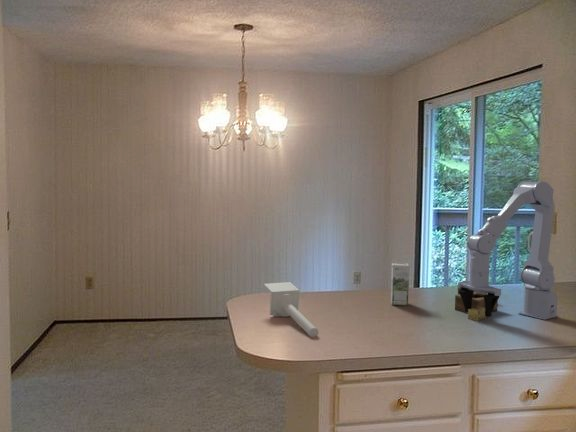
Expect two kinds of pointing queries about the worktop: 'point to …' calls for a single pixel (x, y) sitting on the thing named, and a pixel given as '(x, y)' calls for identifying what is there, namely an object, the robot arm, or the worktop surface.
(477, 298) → the walnut box
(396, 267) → the syrup box
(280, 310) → the white block with rod
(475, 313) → the yellow rectangular block
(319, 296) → the worktop surface
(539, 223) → the robot arm
